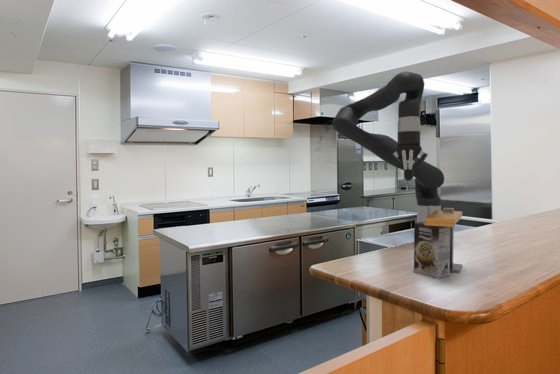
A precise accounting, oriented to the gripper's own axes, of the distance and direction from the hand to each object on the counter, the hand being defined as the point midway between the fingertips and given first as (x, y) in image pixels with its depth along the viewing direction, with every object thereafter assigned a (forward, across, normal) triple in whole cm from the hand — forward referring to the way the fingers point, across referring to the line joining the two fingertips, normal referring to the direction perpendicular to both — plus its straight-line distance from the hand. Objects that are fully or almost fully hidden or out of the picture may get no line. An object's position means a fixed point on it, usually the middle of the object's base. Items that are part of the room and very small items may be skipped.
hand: (408, 180), depth 133 cm
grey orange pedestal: (+29, +13, -9) cm, 33 cm away
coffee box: (+29, +10, -11) cm, 33 cm away
